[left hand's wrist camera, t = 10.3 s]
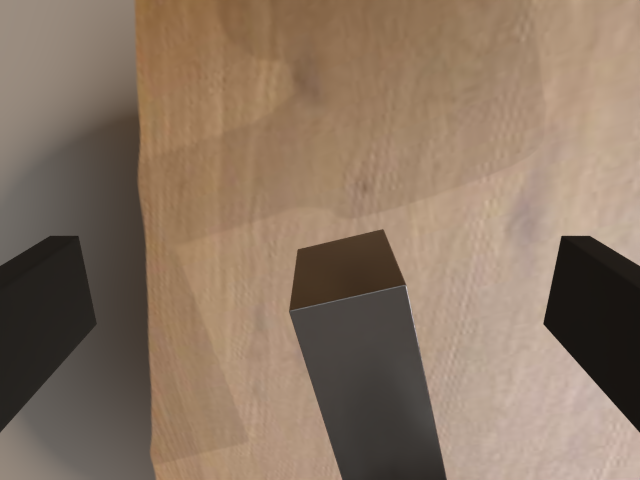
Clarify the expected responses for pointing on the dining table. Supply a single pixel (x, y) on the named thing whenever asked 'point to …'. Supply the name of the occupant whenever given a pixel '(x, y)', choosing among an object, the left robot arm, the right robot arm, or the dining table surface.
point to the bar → (365, 359)
